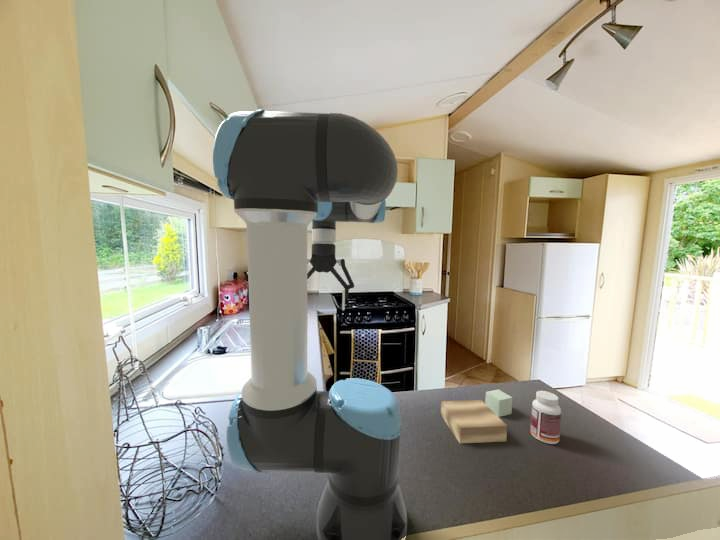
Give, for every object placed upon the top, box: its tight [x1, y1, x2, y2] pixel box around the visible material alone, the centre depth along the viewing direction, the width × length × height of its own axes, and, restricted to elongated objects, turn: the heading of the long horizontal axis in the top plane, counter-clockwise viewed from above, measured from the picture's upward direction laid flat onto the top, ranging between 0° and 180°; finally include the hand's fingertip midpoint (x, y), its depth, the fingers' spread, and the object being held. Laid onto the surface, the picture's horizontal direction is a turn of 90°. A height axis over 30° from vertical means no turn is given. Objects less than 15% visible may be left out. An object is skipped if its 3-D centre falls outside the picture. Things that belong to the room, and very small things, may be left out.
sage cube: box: [484, 389, 513, 418], centre depth 83 cm, size 5×5×5 cm
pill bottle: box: [530, 390, 562, 445], centre depth 71 cm, size 6×6×11 cm
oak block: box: [440, 399, 508, 444], centre depth 75 cm, size 12×12×4 cm
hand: (322, 309), depth 91 cm, fingers open, 13 cm apart
